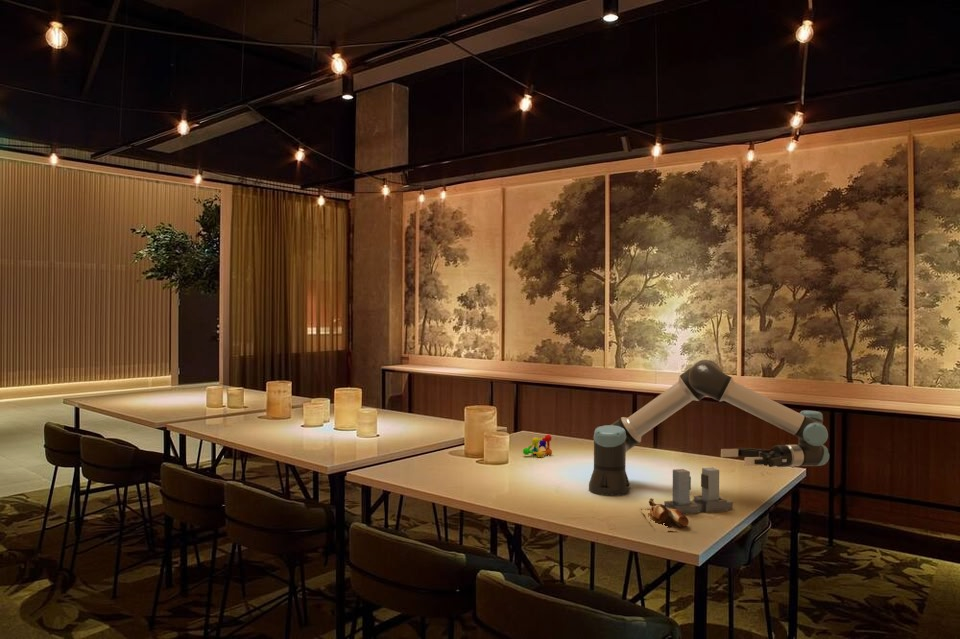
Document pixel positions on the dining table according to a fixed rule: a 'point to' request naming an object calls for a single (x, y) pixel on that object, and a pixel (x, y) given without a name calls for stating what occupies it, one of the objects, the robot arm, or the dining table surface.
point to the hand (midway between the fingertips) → (732, 457)
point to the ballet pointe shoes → (667, 515)
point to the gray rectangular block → (710, 484)
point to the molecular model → (542, 443)
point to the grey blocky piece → (697, 504)
